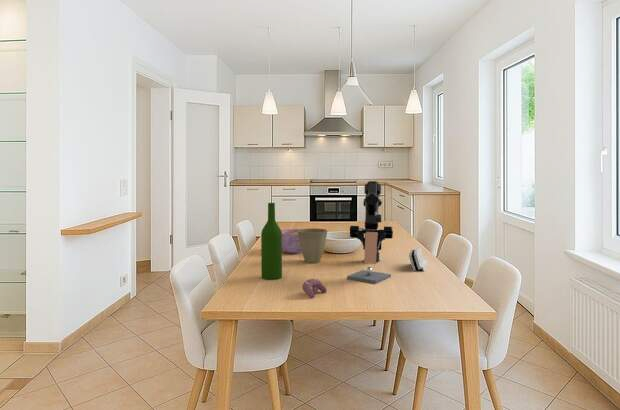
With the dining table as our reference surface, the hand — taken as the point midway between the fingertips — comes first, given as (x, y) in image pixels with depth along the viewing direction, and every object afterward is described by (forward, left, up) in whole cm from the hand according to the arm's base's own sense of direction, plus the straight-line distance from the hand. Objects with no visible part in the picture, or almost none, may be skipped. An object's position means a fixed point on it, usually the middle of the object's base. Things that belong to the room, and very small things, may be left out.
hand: (370, 247), depth 206 cm
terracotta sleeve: (-1, +1, -7) cm, 7 cm away
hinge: (+8, +33, -14) cm, 37 cm away
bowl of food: (-62, +28, -14) cm, 69 cm away
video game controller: (-6, -34, -14) cm, 37 cm away
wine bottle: (-36, -23, -14) cm, 45 cm away
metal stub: (-1, +1, -12) cm, 12 cm away
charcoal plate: (-1, +1, -13) cm, 14 cm away
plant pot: (-40, +14, -14) cm, 45 cm away
